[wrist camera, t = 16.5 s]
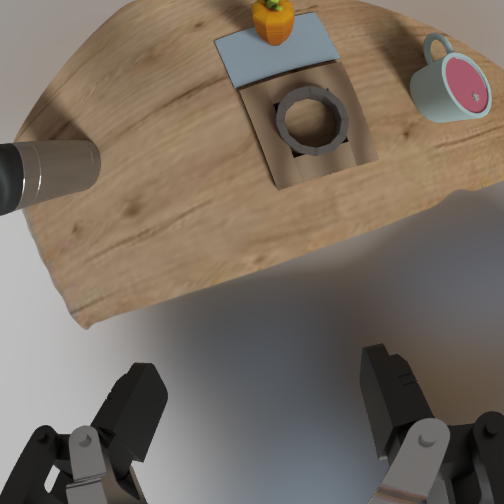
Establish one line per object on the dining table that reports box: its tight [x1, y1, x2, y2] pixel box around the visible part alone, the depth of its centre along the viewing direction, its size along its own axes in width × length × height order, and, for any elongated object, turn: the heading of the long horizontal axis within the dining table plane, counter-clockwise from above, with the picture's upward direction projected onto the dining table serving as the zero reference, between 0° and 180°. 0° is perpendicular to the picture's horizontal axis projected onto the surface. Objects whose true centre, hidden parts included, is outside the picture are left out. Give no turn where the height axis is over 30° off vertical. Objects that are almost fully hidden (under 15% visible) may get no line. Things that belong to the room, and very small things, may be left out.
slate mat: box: [214, 12, 340, 89], centre depth 30 cm, size 16×9×1 cm, turn 110°
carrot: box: [251, 0, 295, 46], centre depth 23 cm, size 5×5×15 cm
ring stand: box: [240, 62, 379, 190], centre depth 32 cm, size 15×15×4 cm
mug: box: [410, 33, 492, 123], centre depth 24 cm, size 14×9×10 cm
